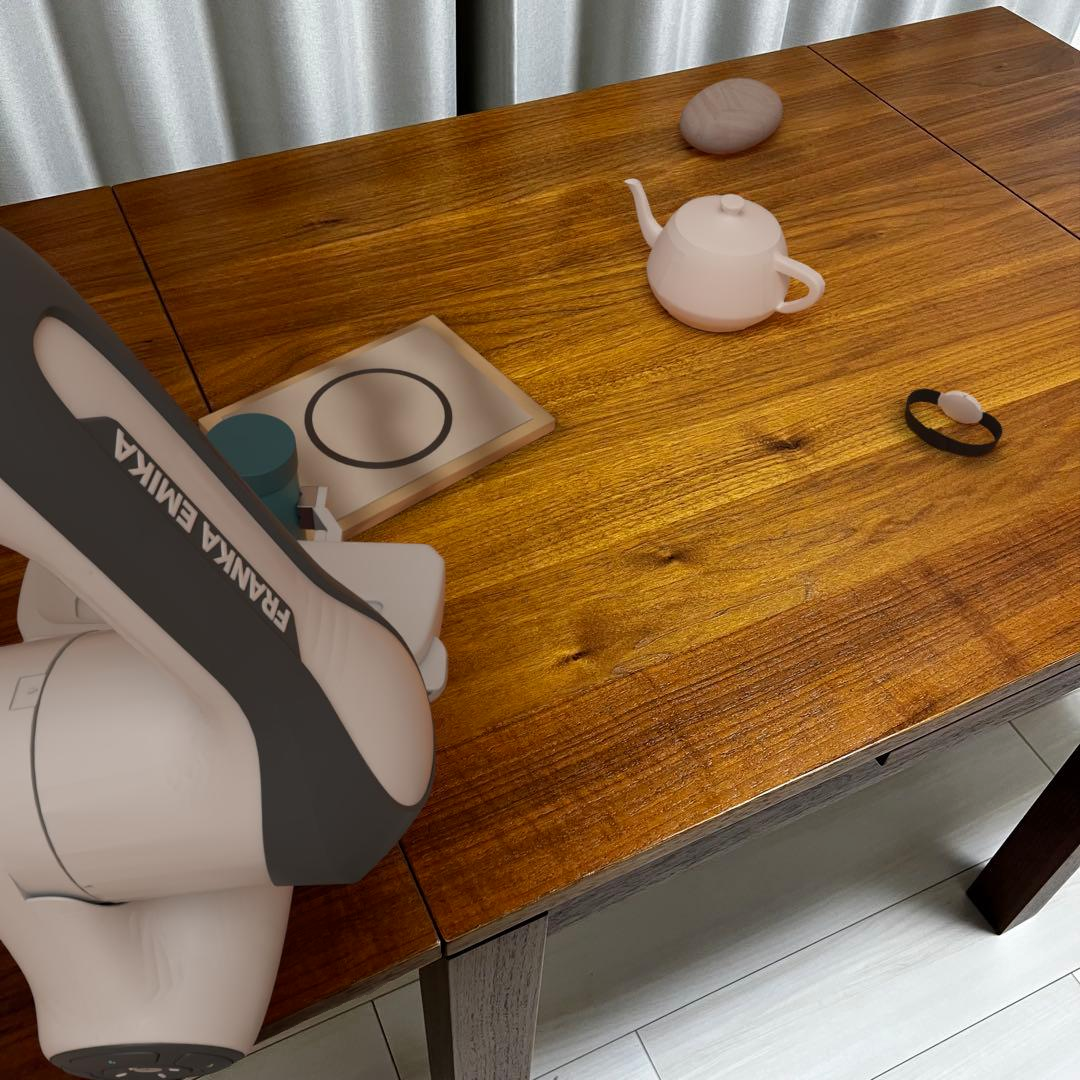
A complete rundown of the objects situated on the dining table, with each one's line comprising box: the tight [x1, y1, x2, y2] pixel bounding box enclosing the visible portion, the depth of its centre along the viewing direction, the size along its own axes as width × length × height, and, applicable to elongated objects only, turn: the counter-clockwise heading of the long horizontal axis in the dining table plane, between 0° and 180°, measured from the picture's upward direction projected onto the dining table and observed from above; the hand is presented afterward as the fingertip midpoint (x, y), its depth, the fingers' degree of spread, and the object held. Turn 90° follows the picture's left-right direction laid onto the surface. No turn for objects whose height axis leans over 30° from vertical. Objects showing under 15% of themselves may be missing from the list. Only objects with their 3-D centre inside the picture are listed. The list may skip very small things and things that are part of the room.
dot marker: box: [206, 413, 307, 541], centre depth 64 cm, size 5×5×11 cm
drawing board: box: [197, 314, 557, 542], centre depth 91 cm, size 22×16×2 cm
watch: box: [904, 388, 1003, 457], centre depth 94 cm, size 8×5×4 cm, turn 56°
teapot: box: [624, 178, 826, 333], centre depth 102 cm, size 20×12×10 cm, turn 53°
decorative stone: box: [678, 77, 784, 155], centre depth 122 cm, size 13×9×5 cm
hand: (261, 492), depth 64 cm, fingers closed on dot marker, 4 cm apart
